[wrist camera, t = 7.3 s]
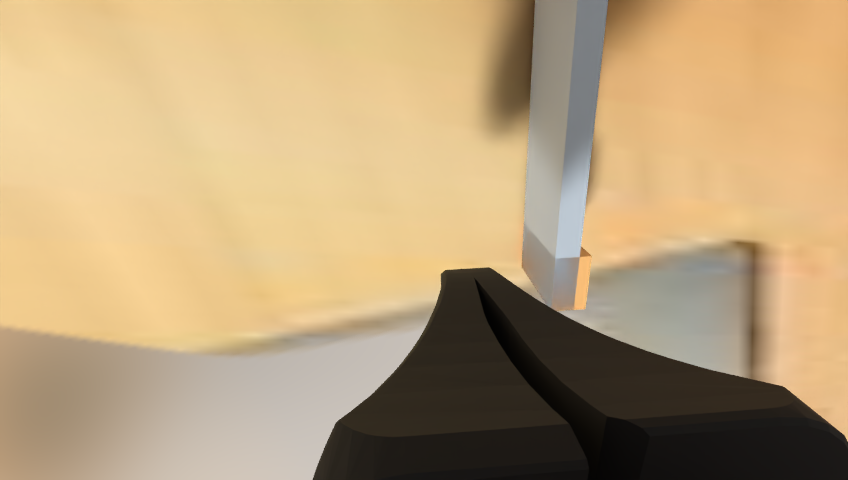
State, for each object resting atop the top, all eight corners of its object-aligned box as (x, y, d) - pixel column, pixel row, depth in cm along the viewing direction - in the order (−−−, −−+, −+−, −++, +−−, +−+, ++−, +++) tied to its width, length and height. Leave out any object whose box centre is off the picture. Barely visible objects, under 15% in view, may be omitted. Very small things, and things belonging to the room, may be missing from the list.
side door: (549, 265, 17) (585, 309, 13) (521, 266, 17) (551, 311, 13) (580, -131, 12) (650, -213, 8) (541, -130, 12) (595, -211, 8)
